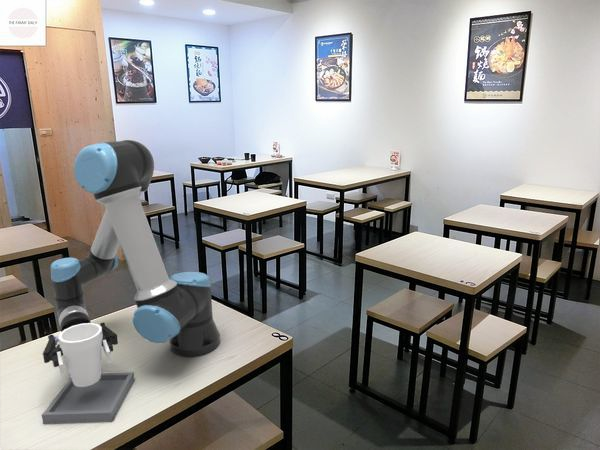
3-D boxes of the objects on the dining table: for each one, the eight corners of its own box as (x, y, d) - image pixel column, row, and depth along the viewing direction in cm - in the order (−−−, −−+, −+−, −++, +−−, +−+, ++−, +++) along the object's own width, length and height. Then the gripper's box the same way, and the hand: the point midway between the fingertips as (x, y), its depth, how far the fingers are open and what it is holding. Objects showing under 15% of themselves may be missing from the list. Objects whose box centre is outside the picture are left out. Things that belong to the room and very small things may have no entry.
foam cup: (114, 378, 109) (108, 331, 105) (75, 396, 102) (68, 347, 99) (97, 363, 115) (91, 319, 111) (60, 379, 108) (52, 332, 105)
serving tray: (134, 380, 118) (133, 372, 117) (112, 421, 102) (111, 412, 102) (74, 382, 117) (73, 374, 117) (43, 424, 102) (41, 415, 101)
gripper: (118, 325, 128) (136, 362, 110) (31, 347, 116) (34, 392, 98) (115, 302, 126) (133, 336, 108) (26, 322, 114) (29, 363, 96)
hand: (86, 363), depth 103 cm, fingers closed on foam cup, 9 cm apart
